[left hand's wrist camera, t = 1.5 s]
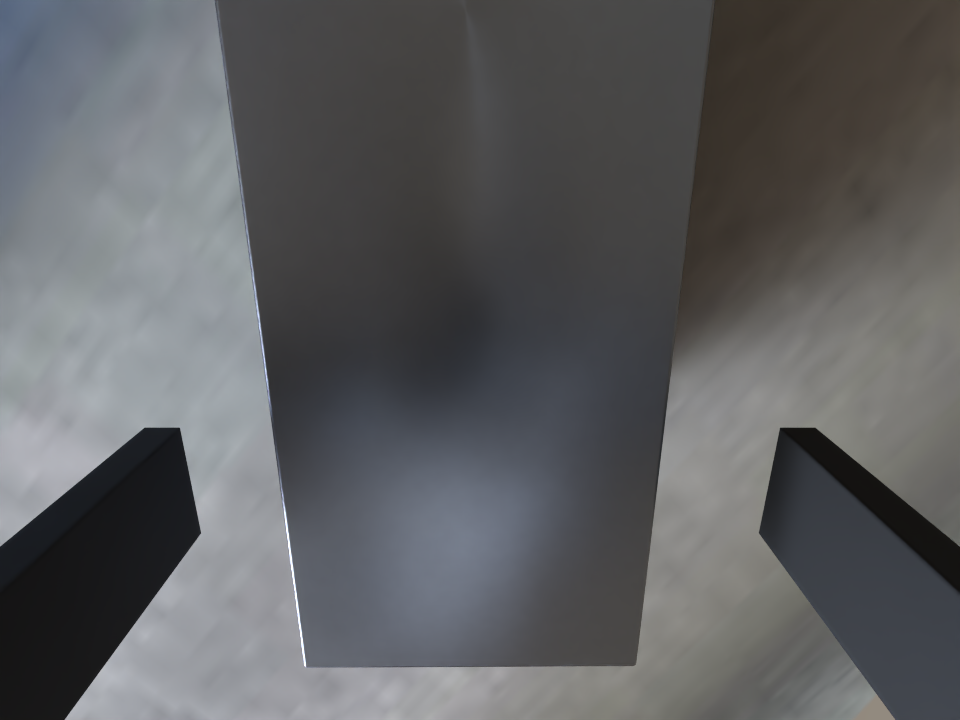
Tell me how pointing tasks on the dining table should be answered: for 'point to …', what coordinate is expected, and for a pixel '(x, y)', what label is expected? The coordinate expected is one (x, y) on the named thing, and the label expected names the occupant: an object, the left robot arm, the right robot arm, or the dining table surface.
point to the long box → (467, 310)
